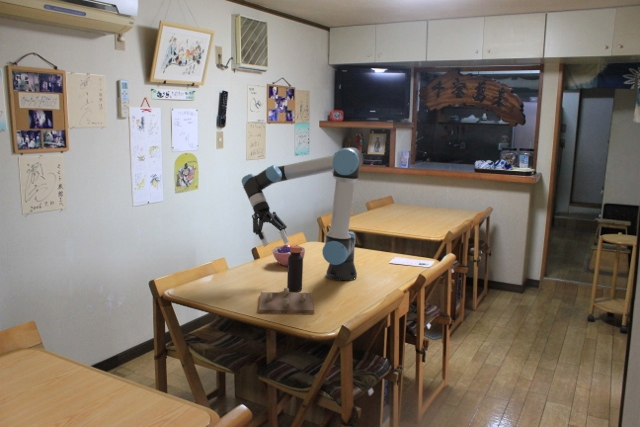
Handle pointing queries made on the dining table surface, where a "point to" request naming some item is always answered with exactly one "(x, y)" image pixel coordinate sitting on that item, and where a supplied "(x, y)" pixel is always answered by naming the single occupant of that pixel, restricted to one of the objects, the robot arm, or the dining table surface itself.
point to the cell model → (284, 254)
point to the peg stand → (285, 302)
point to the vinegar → (295, 269)
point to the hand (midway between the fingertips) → (276, 244)
